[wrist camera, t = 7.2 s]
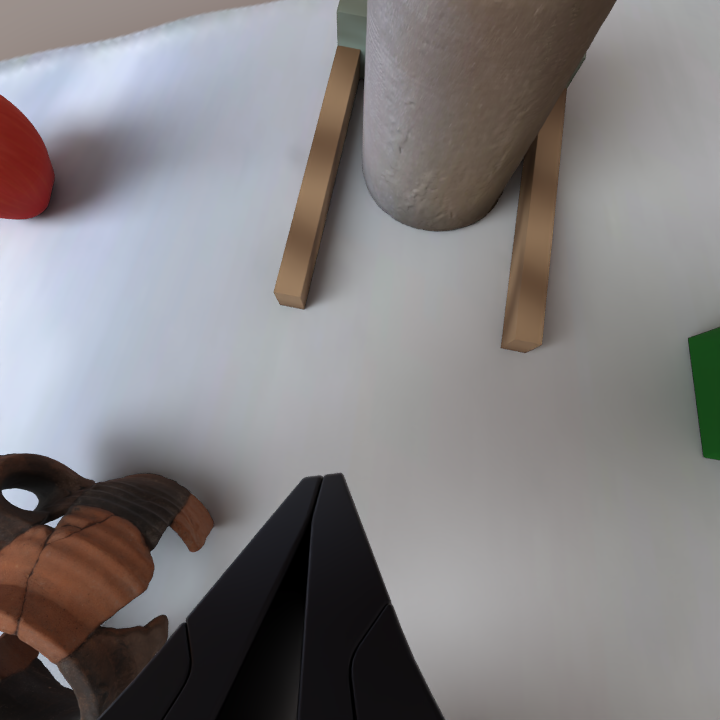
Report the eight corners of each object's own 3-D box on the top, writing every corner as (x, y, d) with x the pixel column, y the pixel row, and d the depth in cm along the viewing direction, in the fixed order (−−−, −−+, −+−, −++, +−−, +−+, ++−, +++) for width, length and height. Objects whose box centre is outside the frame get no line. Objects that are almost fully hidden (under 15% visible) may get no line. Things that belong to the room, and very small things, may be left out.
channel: (525, 352, 23) (561, 334, 19) (279, 304, 23) (266, 277, 19) (552, 96, 27) (587, 38, 23) (342, 56, 27) (341, -8, 23)
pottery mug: (264, 552, 21) (167, 733, 13) (159, 615, 24) (28, 795, 16) (110, 381, 20) (-101, 471, 12) (18, 471, 22) (-201, 591, 15)
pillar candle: (533, 159, 26) (766, -212, 11) (449, 263, 24) (599, -20, 10) (417, 83, 27) (493, -340, 13) (328, 177, 25) (298, -192, 11)
